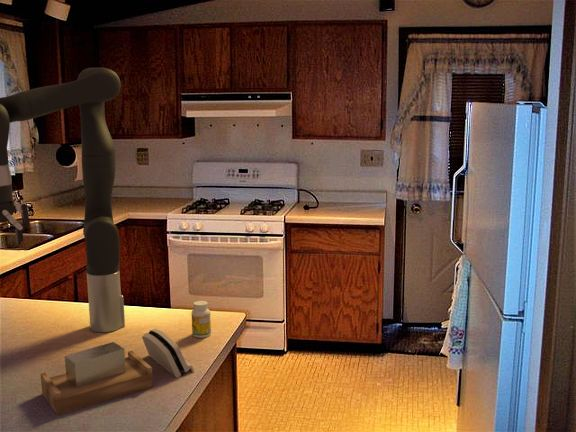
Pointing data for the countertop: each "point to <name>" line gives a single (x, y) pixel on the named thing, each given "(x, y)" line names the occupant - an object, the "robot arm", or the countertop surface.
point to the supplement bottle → (201, 320)
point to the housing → (95, 364)
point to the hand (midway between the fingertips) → (0, 246)
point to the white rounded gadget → (165, 352)
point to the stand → (97, 387)
